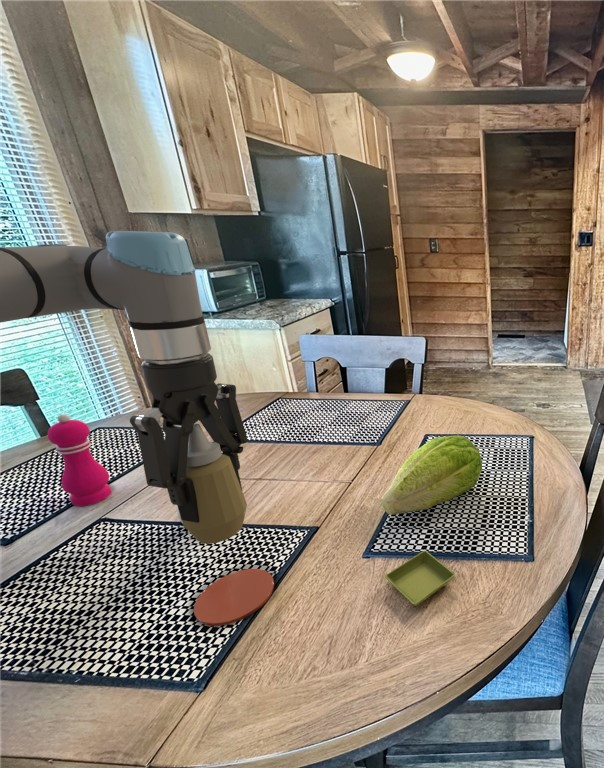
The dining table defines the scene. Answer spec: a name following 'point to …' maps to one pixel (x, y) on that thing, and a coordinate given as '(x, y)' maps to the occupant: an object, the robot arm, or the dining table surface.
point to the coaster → (234, 597)
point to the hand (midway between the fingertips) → (213, 504)
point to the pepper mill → (79, 462)
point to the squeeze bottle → (213, 491)
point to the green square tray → (420, 577)
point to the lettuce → (434, 475)
